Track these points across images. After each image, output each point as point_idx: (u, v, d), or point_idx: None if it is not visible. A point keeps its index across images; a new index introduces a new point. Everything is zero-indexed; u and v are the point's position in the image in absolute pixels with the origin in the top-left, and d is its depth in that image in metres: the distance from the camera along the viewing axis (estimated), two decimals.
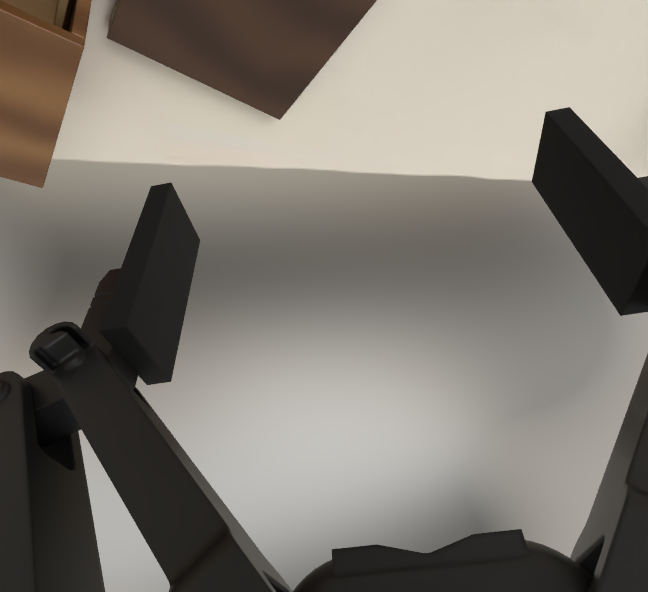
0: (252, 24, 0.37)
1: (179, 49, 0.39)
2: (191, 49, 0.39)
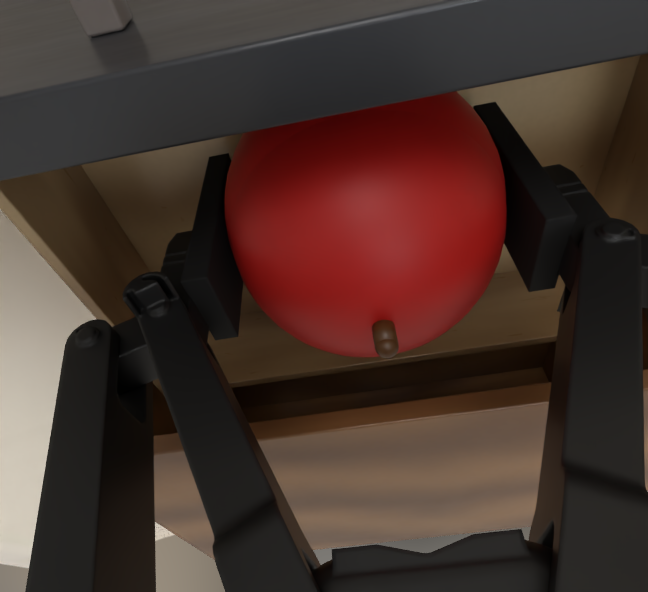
0: None
1: None
2: None
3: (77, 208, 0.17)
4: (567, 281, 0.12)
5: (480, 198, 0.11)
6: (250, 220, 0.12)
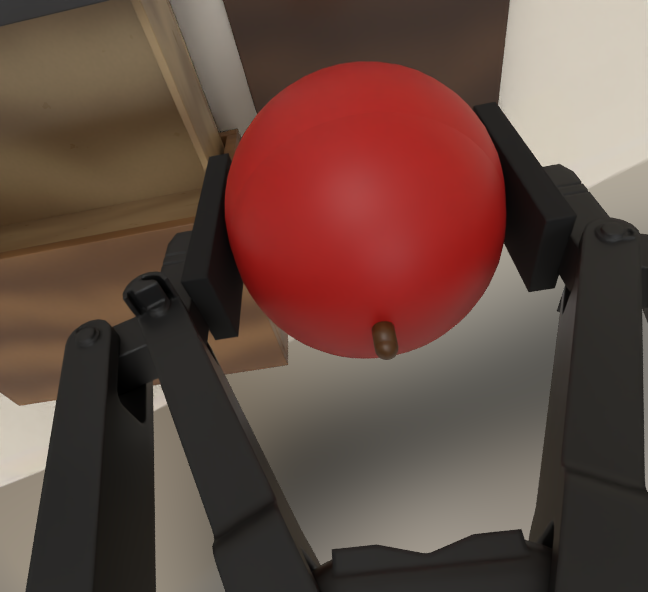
0: None
1: None
2: None
3: None
4: (567, 281, 0.12)
5: (480, 200, 0.11)
6: (250, 222, 0.12)
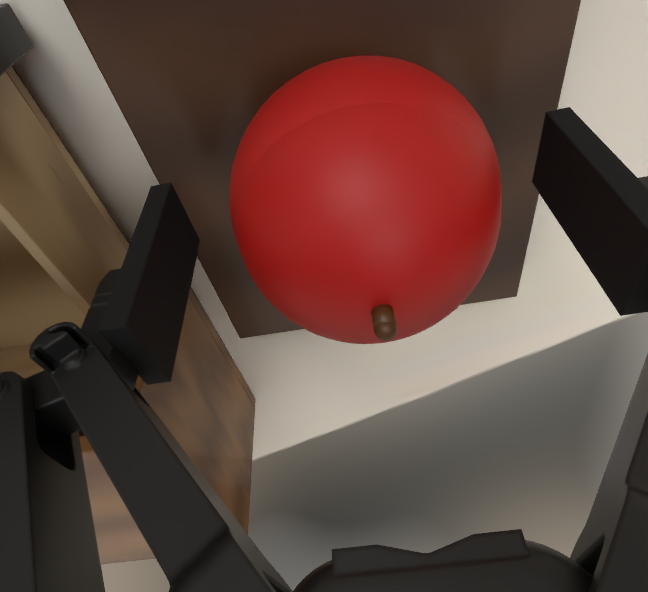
0: None
1: None
2: None
3: None
4: None
5: (475, 187, 0.11)
6: (254, 209, 0.12)
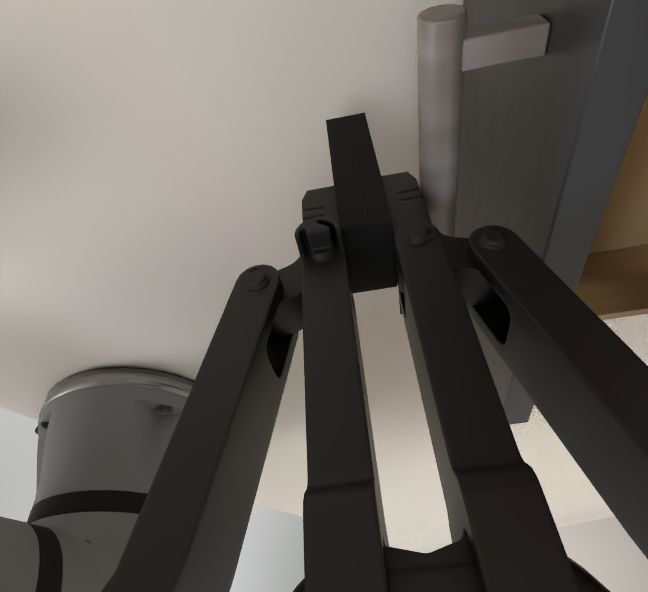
0: None
1: None
2: None
3: None
4: (399, 286, 0.13)
5: None
6: None
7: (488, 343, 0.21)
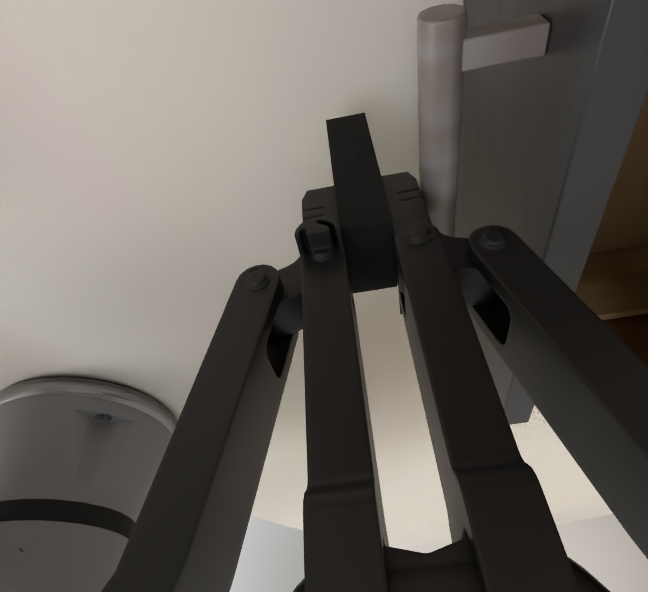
0: None
1: None
2: None
3: None
4: (399, 286, 0.13)
5: None
6: None
7: (488, 343, 0.21)
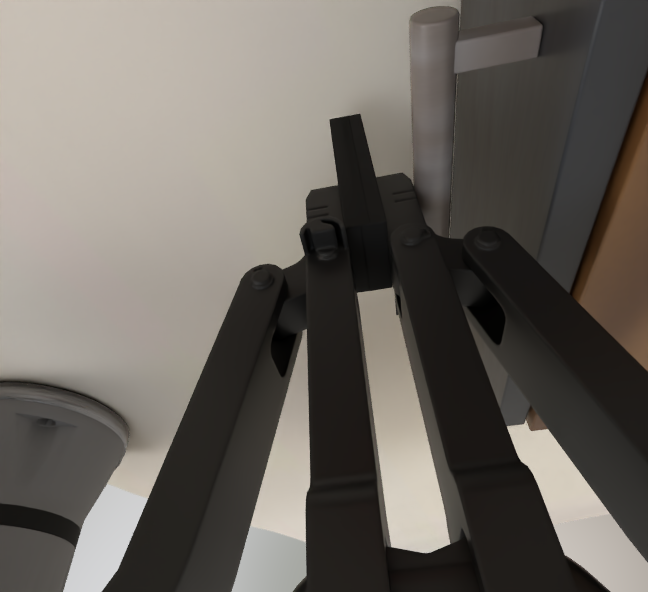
0: None
1: None
2: None
3: None
4: (394, 287, 0.13)
5: None
6: None
7: (485, 345, 0.21)
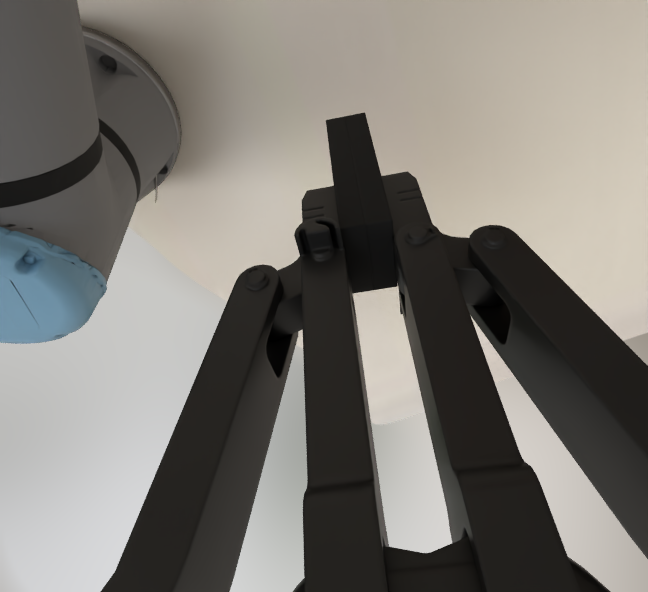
0: None
1: None
2: None
3: None
4: (399, 286, 0.13)
5: None
6: None
7: None
